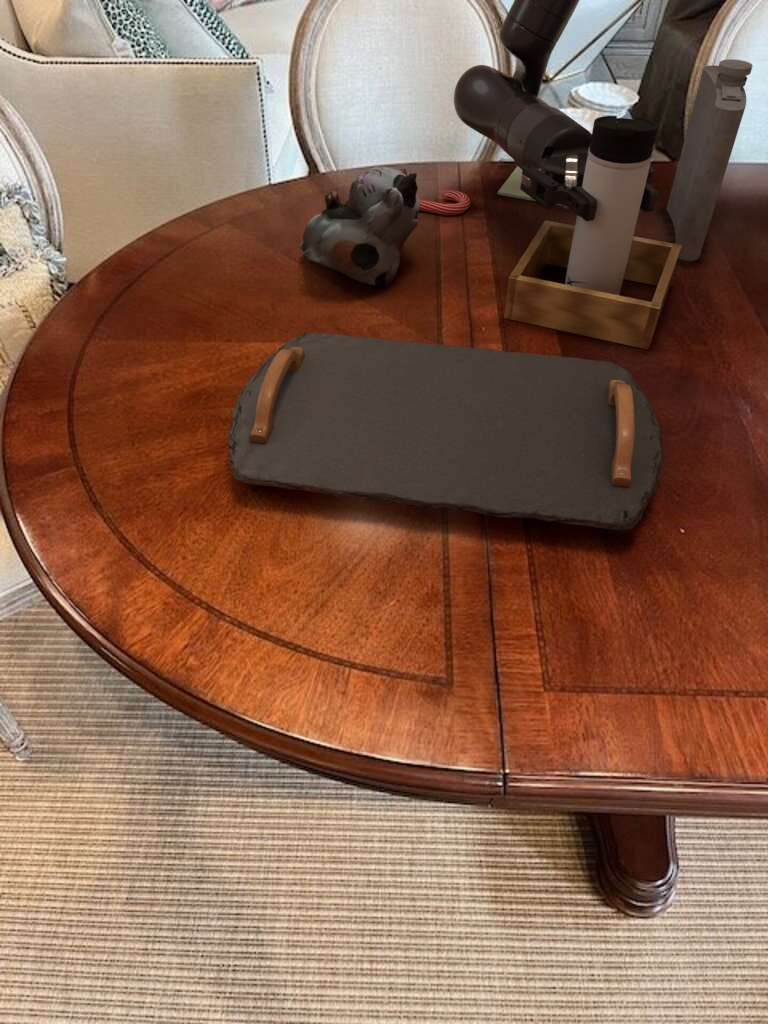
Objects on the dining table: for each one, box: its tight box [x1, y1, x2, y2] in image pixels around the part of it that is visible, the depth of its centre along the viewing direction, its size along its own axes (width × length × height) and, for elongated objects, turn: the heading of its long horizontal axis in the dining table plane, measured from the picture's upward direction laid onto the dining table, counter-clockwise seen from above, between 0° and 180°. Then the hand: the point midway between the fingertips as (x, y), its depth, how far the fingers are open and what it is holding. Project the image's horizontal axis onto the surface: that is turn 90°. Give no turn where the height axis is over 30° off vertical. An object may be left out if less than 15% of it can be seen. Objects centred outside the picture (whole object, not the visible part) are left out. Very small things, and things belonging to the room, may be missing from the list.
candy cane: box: [419, 189, 471, 216], centre depth 108 cm, size 6×15×2 cm, turn 68°
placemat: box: [496, 165, 561, 206], centre depth 112 cm, size 11×11×1 cm
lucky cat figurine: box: [298, 166, 421, 288], centre depth 92 cm, size 15×12×14 cm
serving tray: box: [227, 331, 665, 537], centre depth 71 cm, size 39×23×6 cm, turn 80°
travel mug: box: [564, 115, 659, 296], centre depth 83 cm, size 6×7×20 cm
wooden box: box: [503, 220, 682, 350], centre depth 88 cm, size 16×15×5 cm
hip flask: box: [666, 58, 754, 262], centre depth 95 cm, size 16×4×20 cm, turn 169°
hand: (622, 207), depth 80 cm, fingers closed on travel mug, 6 cm apart
